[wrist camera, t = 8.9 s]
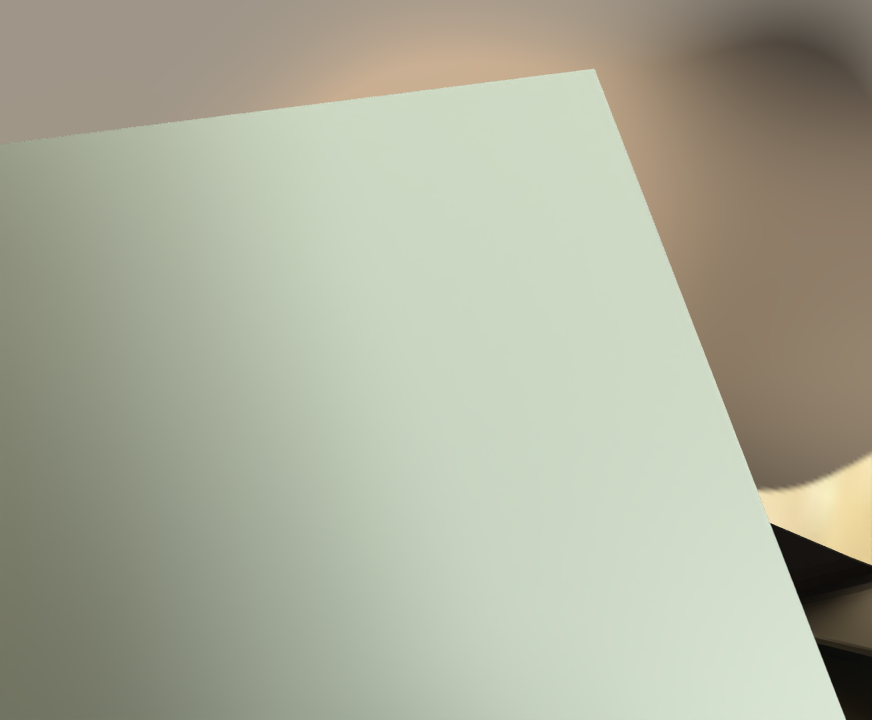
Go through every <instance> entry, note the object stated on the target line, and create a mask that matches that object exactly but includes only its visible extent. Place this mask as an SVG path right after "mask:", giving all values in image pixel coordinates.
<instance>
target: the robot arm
mask: <svg viewBox="0 0 872 720" xmlns="http://www.w3.org/2000/svg"><path fill="white" fill-rule="evenodd" d="M770 525H771V527H772V530H773V533H774V535H775V538H776V540H777V543H778V545H779V548H780V551H781V553H782V556H783V558H784V561H785V564H786V566H787V569H788V571H789V574H790V577H791V579H792V582H793V584H794V587H795V589H796V592H797V595H798V597H799V600H800V602H801V605H802V608H803V610H804V613H805V615H806V618H807V621H808V623H809V626H810V628H811V631H812V634H813V636H814V639H815V641H816V644H817V646H818V649H819V652H820V654H821V657H822V659H823V662H824V665H825V667H826V670H827V672H828V675H829V678H830V680H831V683H832V685H833V688H834V690H835V693H836V696H837V698H838V701H839V703H840V706H841V709H842V711H843V714H844V716H845V719H846V720H872V565H870V564H867V563H864V562H862V561H859V560H857V559H854V558H851V557H849V556H847V555H844V554H842V553H840V552H837V551H835V550H833V549H830V548H828V547H825V546H823V545H821V544H818V543H816V542H814V541H811V540H809V539H807V538H804V537H802V536H800V535H797V534H795V533H793V532H790V531H788V530H785V529H783V528H781V527H778V526H776V525H774V524H771V523H770Z"/></svg>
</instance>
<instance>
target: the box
mask: <svg viewBox="0 0 872 720" xmlns="http://www.w3.org/2000/svg"><path fill="white" fill-rule="evenodd" d="M0 720H846V719H845V716H844V714H843V711H842V709H841V706H840V703H839V701H838V698H837V696H836V693H835V690H834V688H833V685H832V683H831V680H830V678H829V675H828V672H827V670H826V667H825V665H824V662H823V659H822V657H821V654H820V652H819V649H818V646H817V644H816V641H815V639H814V636H813V634H812V631H811V628H810V626H809V623H808V621H807V618H806V615H805V613H804V610H803V608H802V605H801V602H800V600H799V597H798V595H797V592H796V589H795V587H794V584H793V582H792V579H791V577H790V574H789V571H788V569H787V566H786V564H785V561H784V558H783V556H782V553H781V551H780V548H779V545H778V543H777V540H776V538H775V535H774V533H773V530H772V527H771V525H770V522H769V520H768V517H767V514H766V512H765V509H764V507H763V504H762V501H761V499H760V496H759V494H758V491H757V489H756V486H755V483H754V481H753V478H752V476H751V473H750V471H749V468H748V465H747V463H746V460H745V457H744V455H743V452H742V450H741V447H740V444H739V442H738V439H737V437H736V434H735V432H734V429H733V426H732V424H731V421H730V419H729V416H728V413H727V411H726V408H725V406H724V403H723V400H722V398H721V395H720V393H719V390H718V388H717V385H716V382H715V380H714V377H713V375H712V372H711V369H710V367H709V364H708V362H707V359H706V357H705V354H704V351H703V349H702V346H701V344H700V341H699V338H698V336H697V333H696V331H695V328H694V325H693V323H692V320H691V318H690V315H689V312H688V310H687V307H686V305H685V302H684V299H683V297H682V294H681V292H680V289H679V287H678V284H677V281H676V279H675V276H674V274H673V271H672V268H671V266H670V263H669V261H668V258H667V256H666V253H665V250H664V248H663V245H662V243H661V240H660V237H659V235H658V232H657V230H656V227H655V225H654V222H653V219H652V217H651V214H650V212H649V209H648V206H647V204H646V201H645V199H644V196H643V193H642V191H641V188H640V186H639V183H638V180H637V178H636V175H635V173H634V170H633V168H632V165H631V162H630V160H629V157H628V154H627V152H626V149H625V147H624V144H623V142H622V139H621V136H620V134H619V131H618V129H617V126H616V123H615V122H614V118H613V116H612V114H611V110H610V108H609V106H608V103H607V100H606V98H605V95H604V92H603V90H602V87H601V85H600V82H599V79H598V77H597V75H596V72H595V69H589V70H582V71H573V72H565V73H559V74H558V73H557V74H550V75H542V76H534V77H526V78H518V79H511V80H503V81H494V82H487V83H479V84H471V85H463V86H455V87H447V88H439V89H432V90H424V91H416V92H408V93H400V94H392V95H384V96H377V97H369V98H360V99H353V100H345V101H337V102H329V103H322V104H313V105H305V106H298V107H290V108H282V109H275V110H266V111H258V112H250V113H242V114H234V115H227V116H219V117H211V118H203V119H195V120H187V121H180V122H171V123H163V124H156V125H148V126H140V127H132V128H124V129H117V130H109V131H100V132H93V133H85V134H77V135H69V136H61V137H54V138H46V139H38V140H29V141H22V142H14V143H6V144H0Z"/></svg>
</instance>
